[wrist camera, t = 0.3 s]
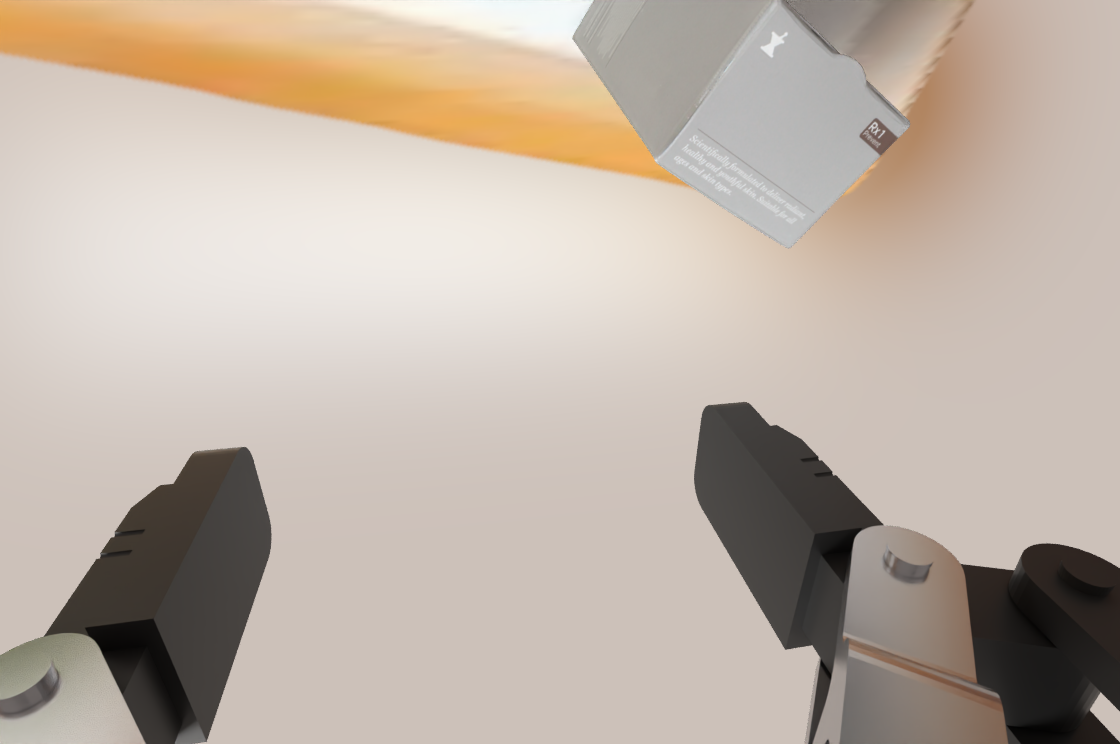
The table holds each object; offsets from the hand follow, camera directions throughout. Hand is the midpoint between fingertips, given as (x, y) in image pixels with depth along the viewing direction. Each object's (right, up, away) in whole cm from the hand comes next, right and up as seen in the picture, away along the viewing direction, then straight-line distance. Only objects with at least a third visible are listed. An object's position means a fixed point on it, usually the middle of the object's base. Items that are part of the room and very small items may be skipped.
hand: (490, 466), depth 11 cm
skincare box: (+7, +21, +22) cm, 31 cm away
